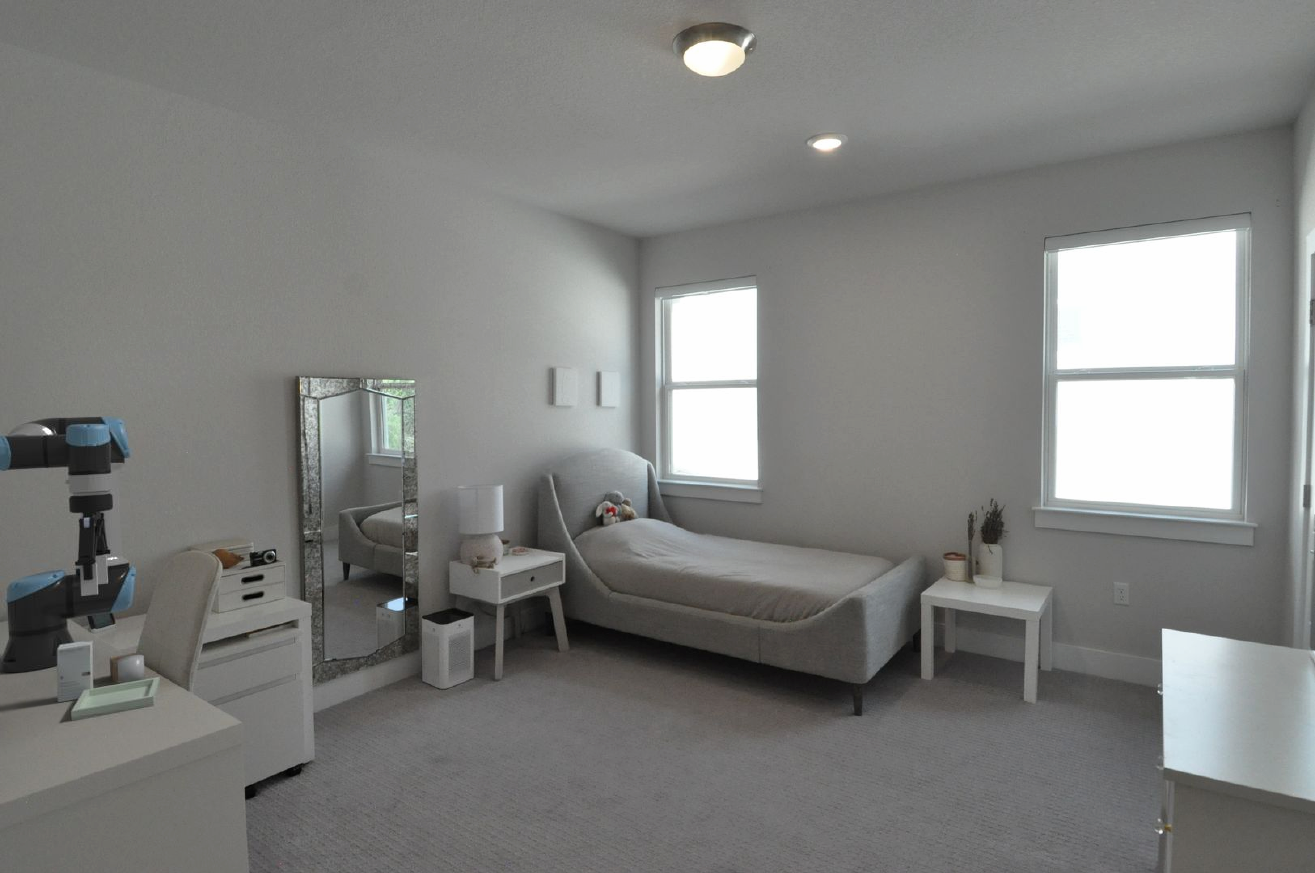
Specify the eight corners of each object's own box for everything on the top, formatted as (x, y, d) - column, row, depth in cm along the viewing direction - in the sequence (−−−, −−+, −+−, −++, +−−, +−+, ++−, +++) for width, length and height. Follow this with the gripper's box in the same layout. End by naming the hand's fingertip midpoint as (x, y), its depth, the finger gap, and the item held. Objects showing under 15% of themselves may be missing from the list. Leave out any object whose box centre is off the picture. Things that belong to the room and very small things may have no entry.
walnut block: (110, 677, 172) (109, 657, 172) (135, 672, 176) (134, 652, 175) (114, 682, 169) (113, 662, 168) (139, 676, 172) (138, 656, 172)
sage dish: (84, 698, 159) (84, 689, 159) (159, 685, 166) (159, 676, 166) (71, 720, 147) (71, 711, 147) (153, 705, 154) (153, 696, 154)
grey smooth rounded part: (120, 681, 169) (119, 657, 169) (145, 677, 171) (144, 653, 171) (117, 688, 164) (116, 663, 164) (143, 683, 167) (142, 659, 167)
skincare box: (57, 703, 156) (54, 649, 156) (60, 696, 160) (58, 644, 160) (92, 696, 160) (90, 644, 159) (94, 690, 164) (92, 639, 163)
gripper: (79, 491, 164) (84, 582, 164) (56, 498, 142) (61, 602, 143) (120, 489, 168) (124, 577, 168) (103, 495, 146) (107, 596, 146)
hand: (95, 589), depth 155 cm, fingers open, 13 cm apart
